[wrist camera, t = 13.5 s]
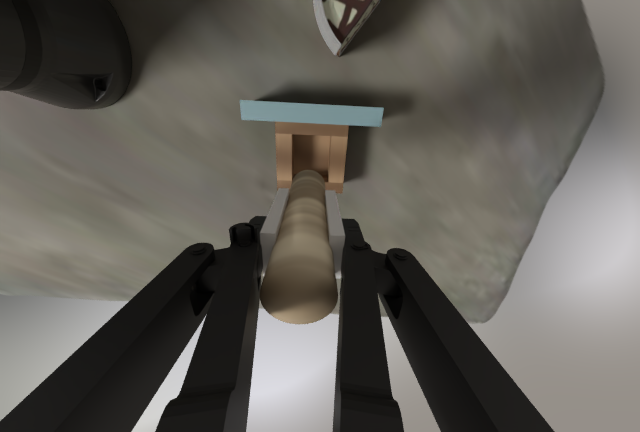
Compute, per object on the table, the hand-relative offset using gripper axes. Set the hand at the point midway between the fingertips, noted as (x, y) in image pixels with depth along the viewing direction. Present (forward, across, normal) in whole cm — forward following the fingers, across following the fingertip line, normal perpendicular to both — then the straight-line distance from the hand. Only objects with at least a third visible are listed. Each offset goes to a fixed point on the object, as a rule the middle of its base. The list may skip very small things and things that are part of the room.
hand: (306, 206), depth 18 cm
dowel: (+5, 0, 0) cm, 5 cm away
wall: (+18, 0, +6) cm, 19 cm away
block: (+18, 0, 0) cm, 18 cm away
